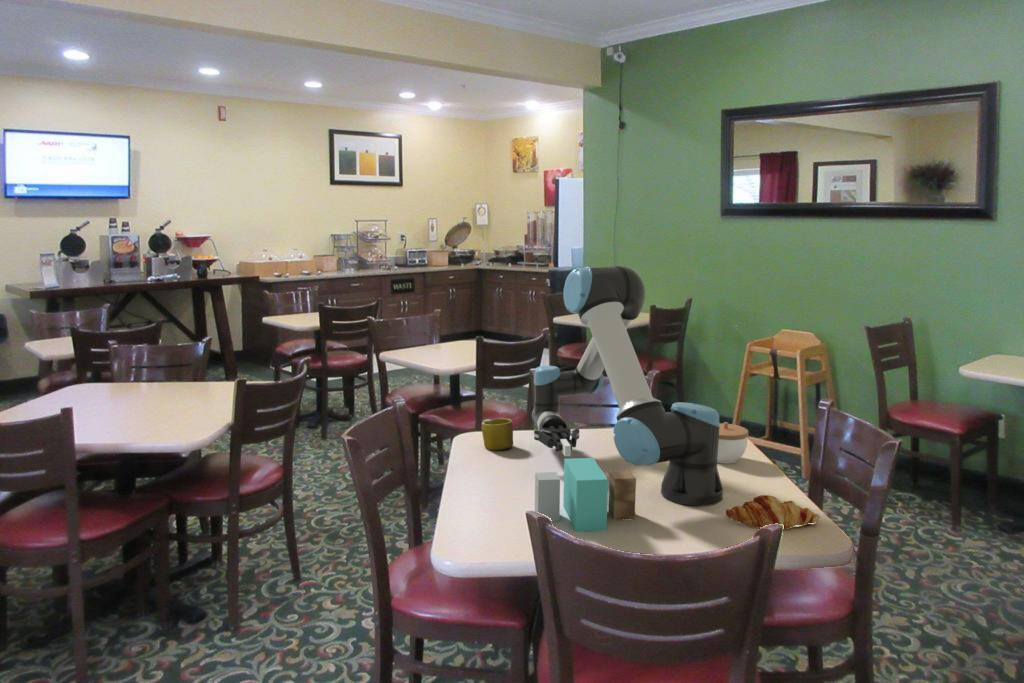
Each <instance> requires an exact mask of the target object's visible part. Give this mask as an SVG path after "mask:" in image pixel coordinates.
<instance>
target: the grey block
mask: <svg viewBox="0 0 1024 683" xmlns="http://www.w3.org/2000/svg"><path fill="white" fill-rule="evenodd" d="M534 473H535V474H534V512H535V511H536V512H539V513H541V514H544V515H546V516H548V517H549V518H551V520H552V521H551V522H559V521H560V512H561V510H560V508H561V506H560V505H561V502H560V500H561V495H560V494H561V492H560V491H561V479H560V476H559V474H558V472H556V471H552V472H551V471H548V472H545V471H544V472H534Z"/></svg>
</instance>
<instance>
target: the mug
mask: <svg viewBox="0 0 1024 683" xmlns="http://www.w3.org/2000/svg"><path fill="white" fill-rule="evenodd" d="M481 432H482V439H483V443H484V444H483V445H484V447H485V448H486V449H487V450H489V451H494V450H495V451H503V450H508V449H510V448H512V447H513V446H514V422H513V420H512V419H511V418H493V419H489V418H488V419H487V418H486V419H484V420H483V421H482V422H481Z"/></svg>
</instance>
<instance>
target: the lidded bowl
mask: <svg viewBox="0 0 1024 683" xmlns="http://www.w3.org/2000/svg"><path fill="white" fill-rule="evenodd" d="M719 425H720V428H719V442H718V457H717V464H723V465H724V464H725V465H729V464H735V463H737V462H738V460H740V459H741V458H742V457H743V456H744V454H745V452H746V451H747V450H746V449H747V445H748V439H749V432H750V431H749V430H748V429H747V428H746V427H745V426H744V427H743V426H741V425H738V424H734V423H729V422H726V421H724V422H723V423H721V422H719Z"/></svg>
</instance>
